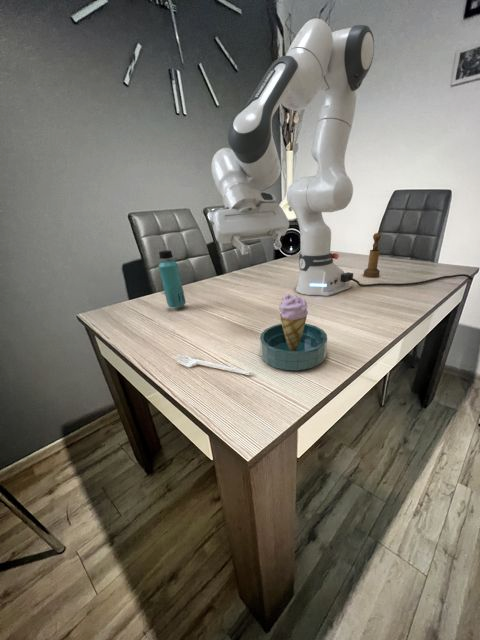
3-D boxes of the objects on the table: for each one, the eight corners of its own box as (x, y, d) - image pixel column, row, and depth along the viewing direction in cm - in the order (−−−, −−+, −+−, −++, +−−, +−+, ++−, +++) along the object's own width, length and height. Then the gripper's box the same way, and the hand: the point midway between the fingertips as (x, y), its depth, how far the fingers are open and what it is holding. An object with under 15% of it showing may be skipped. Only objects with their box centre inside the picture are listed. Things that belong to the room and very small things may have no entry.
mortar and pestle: (364, 277, 121) (370, 234, 112) (362, 274, 127) (367, 232, 118) (380, 277, 120) (387, 233, 111) (377, 274, 126) (384, 231, 117)
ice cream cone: (275, 349, 68) (273, 291, 61) (297, 343, 70) (297, 286, 63) (288, 362, 63) (287, 299, 55) (311, 355, 65) (313, 294, 57)
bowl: (301, 334, 76) (301, 317, 73) (339, 359, 64) (341, 340, 61) (250, 349, 70) (249, 332, 67) (282, 380, 58) (282, 360, 55)
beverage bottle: (182, 311, 96) (169, 252, 86) (164, 311, 97) (150, 252, 87) (189, 305, 101) (179, 248, 91) (173, 305, 103) (161, 249, 93)
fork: (247, 380, 58) (246, 372, 57) (172, 363, 66) (171, 357, 65) (253, 372, 61) (252, 364, 60) (181, 357, 68) (179, 350, 67)
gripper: (206, 199, 65) (226, 247, 62) (279, 194, 73) (300, 237, 70) (203, 219, 70) (222, 264, 68) (272, 212, 78) (291, 252, 76)
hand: (262, 250), depth 69 cm, fingers open, 8 cm apart
